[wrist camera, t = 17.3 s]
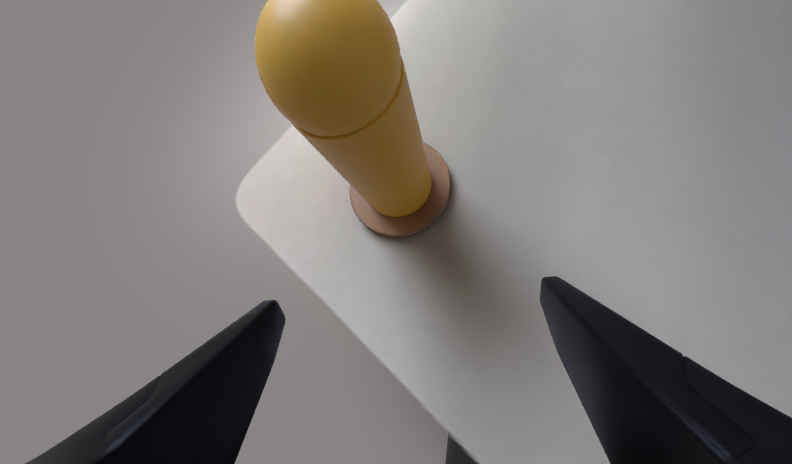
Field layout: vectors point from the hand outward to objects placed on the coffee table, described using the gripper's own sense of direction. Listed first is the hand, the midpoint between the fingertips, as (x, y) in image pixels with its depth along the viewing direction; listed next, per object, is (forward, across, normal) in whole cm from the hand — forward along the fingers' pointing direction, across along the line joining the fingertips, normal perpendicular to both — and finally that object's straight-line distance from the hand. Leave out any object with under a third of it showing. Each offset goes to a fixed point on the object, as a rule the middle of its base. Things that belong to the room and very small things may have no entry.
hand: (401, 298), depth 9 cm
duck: (+11, +1, 0) cm, 11 cm away
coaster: (+11, +1, 0) cm, 11 cm away
